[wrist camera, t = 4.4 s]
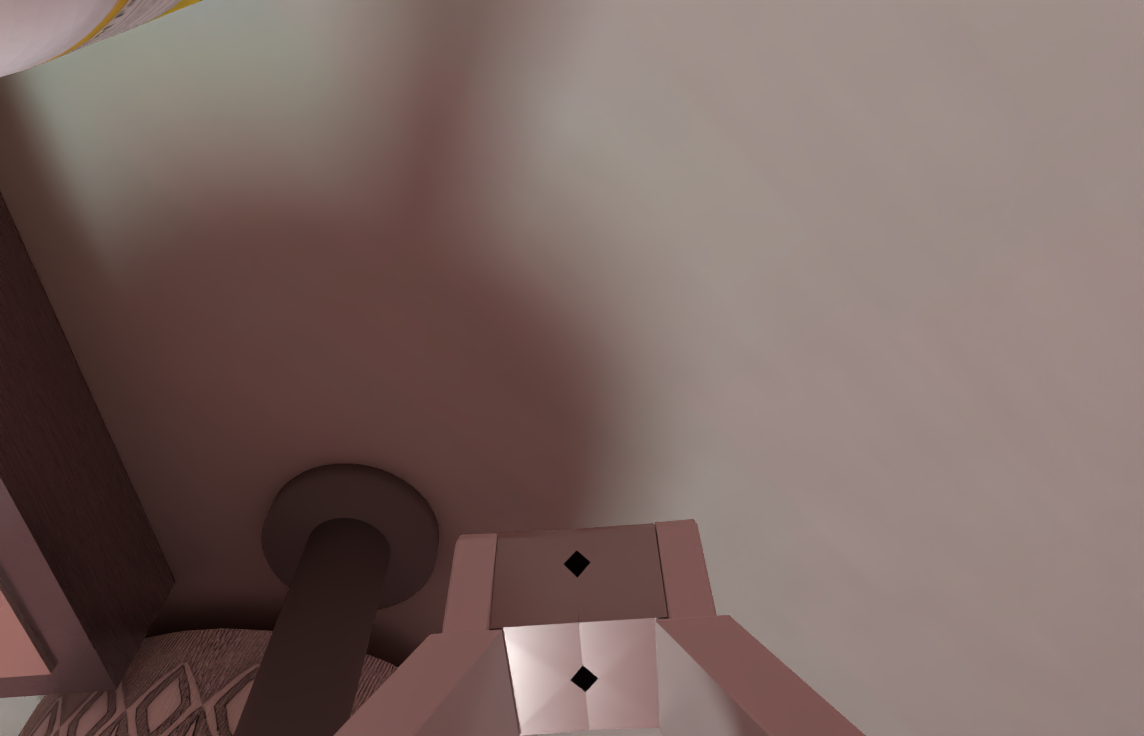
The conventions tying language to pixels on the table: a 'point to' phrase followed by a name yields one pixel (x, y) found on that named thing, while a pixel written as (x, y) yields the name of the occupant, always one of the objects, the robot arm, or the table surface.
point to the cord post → (333, 590)
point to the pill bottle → (68, 26)
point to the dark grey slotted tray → (63, 511)
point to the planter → (178, 689)
